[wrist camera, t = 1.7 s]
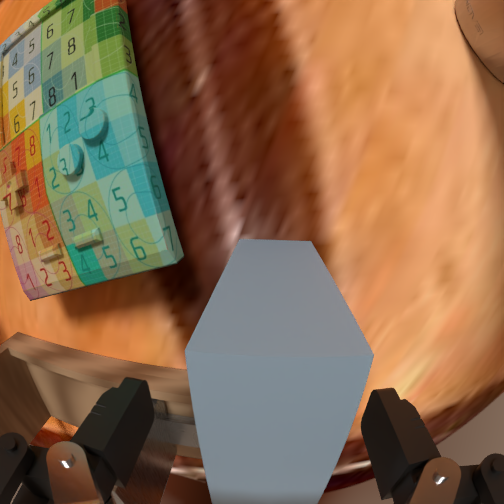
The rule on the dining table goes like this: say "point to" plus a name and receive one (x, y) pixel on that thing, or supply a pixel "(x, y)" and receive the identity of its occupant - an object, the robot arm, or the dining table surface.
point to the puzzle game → (78, 153)
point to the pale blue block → (275, 375)
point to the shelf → (75, 385)
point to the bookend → (157, 457)
